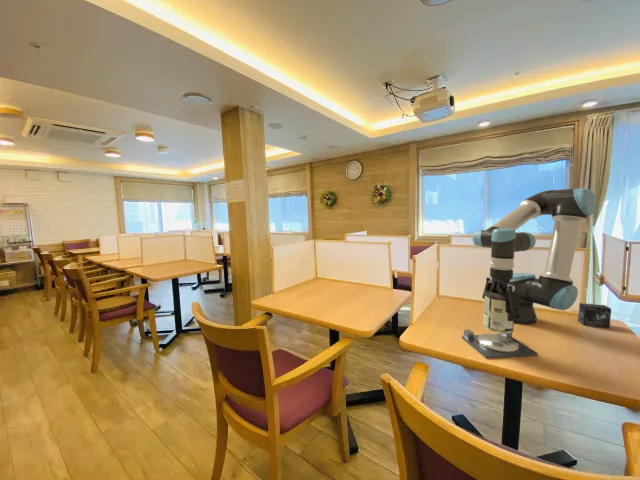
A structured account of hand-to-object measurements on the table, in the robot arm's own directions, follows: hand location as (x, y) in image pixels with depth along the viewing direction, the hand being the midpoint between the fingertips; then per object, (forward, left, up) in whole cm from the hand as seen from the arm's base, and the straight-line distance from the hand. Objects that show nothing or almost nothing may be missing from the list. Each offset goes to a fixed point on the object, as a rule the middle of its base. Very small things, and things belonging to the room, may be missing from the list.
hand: (498, 322), depth 108 cm
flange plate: (0, 0, -10) cm, 10 cm away
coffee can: (0, 0, -3) cm, 3 cm away
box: (-58, -16, -11) cm, 61 cm away
